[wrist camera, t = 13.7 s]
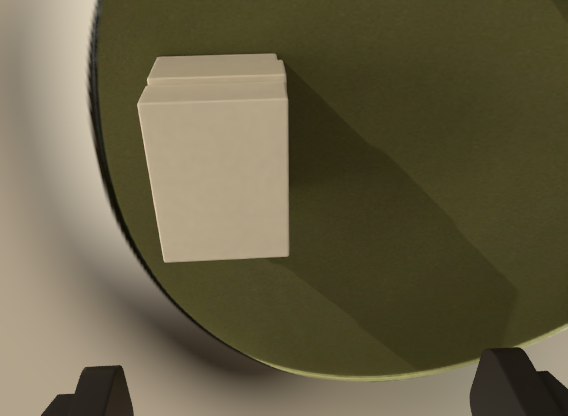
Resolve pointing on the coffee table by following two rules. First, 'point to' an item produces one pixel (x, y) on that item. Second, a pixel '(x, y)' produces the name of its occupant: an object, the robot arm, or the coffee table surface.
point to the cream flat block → (218, 168)
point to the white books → (217, 69)
